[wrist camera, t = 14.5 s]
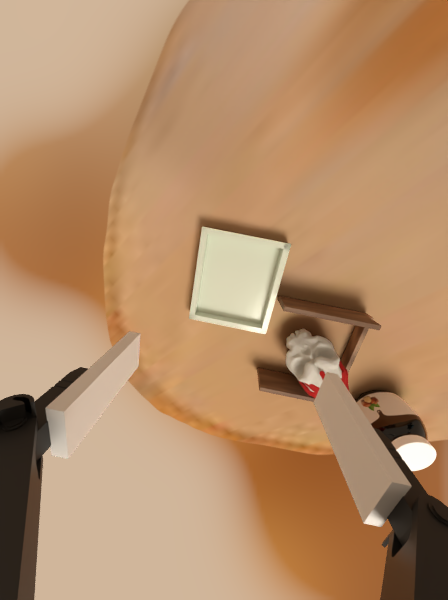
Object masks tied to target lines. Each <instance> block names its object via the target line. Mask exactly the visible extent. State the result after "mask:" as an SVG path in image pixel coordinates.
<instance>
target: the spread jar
mask: <svg viewBox="0 0 448 600" xmlns="http://www.w3.org/2000/svg"><path fill="white" fill-rule="evenodd" d="M356 403H357V404H358V406H359V407H360V409H361V410H362V412H363V413H364V415H365V416H366V418H367V419H368V421H369V422H370V424H371V425H372V427H373V428H376V429H379V430H380V431H381V432H382V433H383V434H384V435H385V436H386V437H387V438H388V439H389V440H390V441H391V443H392V444H393V446H394V447H395V448H396V451H398V453H399V454H400V456H401V457H402V460H404V461H405V463H406V464H407V466H408V467H409V468H410V470H411V471H416V470H421V469H424V468H426V467H427V466H429V465H431V464H432V463H433V461H434V460H435V458H436V451H435V449H434V448H433V447H432V445H431V444H430V443H429V442H428V435H427V431H426V428H425V425H424V424H423V422H422V420H421V419H420V417H419V416H418V415H417V413H416V412H415V411H414V410H413V409H412V408H411V407H410V406H409V405H408V404H407V403H406V402H405V401H404V400H403V399H402V398H401V397H399V396H398V395H396V394H394V393H392V392H388V391H381V390H374V391H369V392H366V393H364V394H362V395H361V396H360V397H359V398H358V399H357V400H356Z"/></svg>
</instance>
